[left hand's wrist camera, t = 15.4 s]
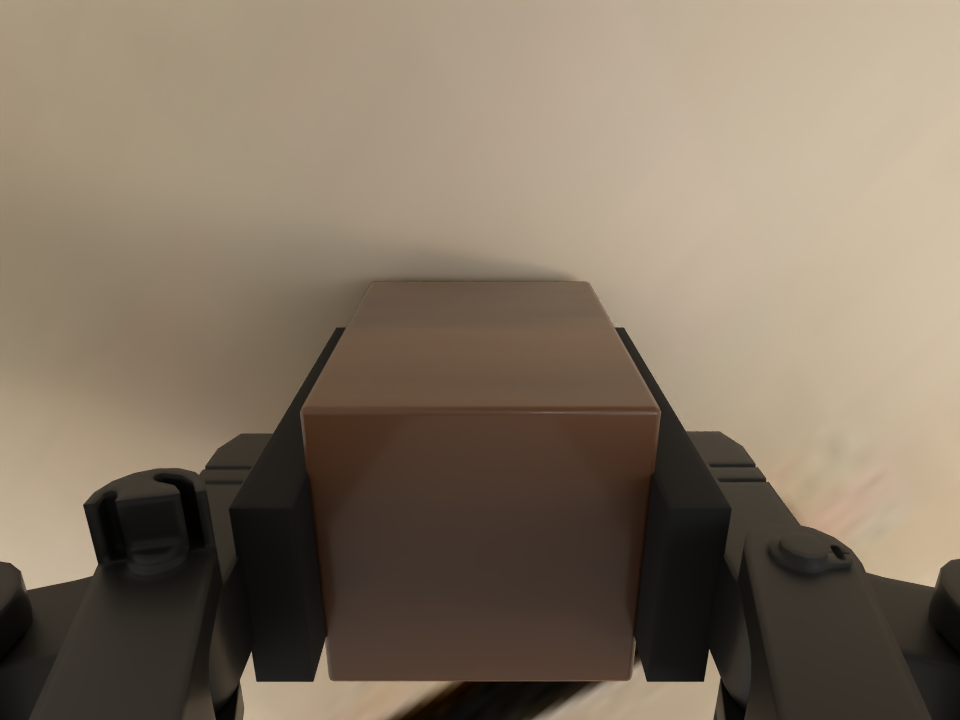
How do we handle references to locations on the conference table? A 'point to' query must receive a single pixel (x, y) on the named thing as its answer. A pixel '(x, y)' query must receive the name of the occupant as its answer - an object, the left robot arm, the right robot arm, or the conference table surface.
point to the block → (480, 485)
